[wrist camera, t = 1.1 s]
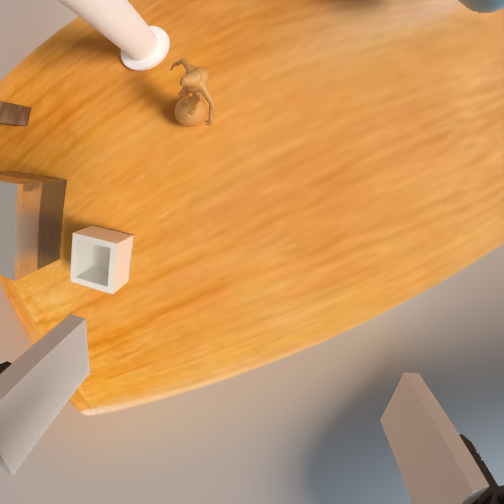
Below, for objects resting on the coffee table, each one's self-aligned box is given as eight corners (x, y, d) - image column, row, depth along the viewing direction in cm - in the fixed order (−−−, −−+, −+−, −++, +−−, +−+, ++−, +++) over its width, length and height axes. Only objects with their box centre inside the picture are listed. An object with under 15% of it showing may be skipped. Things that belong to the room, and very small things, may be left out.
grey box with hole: (13, 171, 39) (-34, 175, 28) (66, 179, 39) (18, 184, 28) (9, 242, 42) (-35, 258, 31) (59, 258, 42) (15, 280, 31)
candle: (123, 33, 34) (23, -53, 10) (170, 23, 34) (94, -88, 9) (121, 75, 36) (1, 5, 11) (169, 66, 35) (75, -34, 11)
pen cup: (93, 225, 41) (72, 232, 35) (134, 235, 41) (117, 243, 35) (89, 269, 42) (70, 281, 37) (128, 280, 42) (112, 294, 37)
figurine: (165, 98, 36) (130, 71, 25) (204, 72, 36) (183, 36, 24) (197, 148, 38) (171, 137, 26) (238, 123, 37) (228, 100, 25)
